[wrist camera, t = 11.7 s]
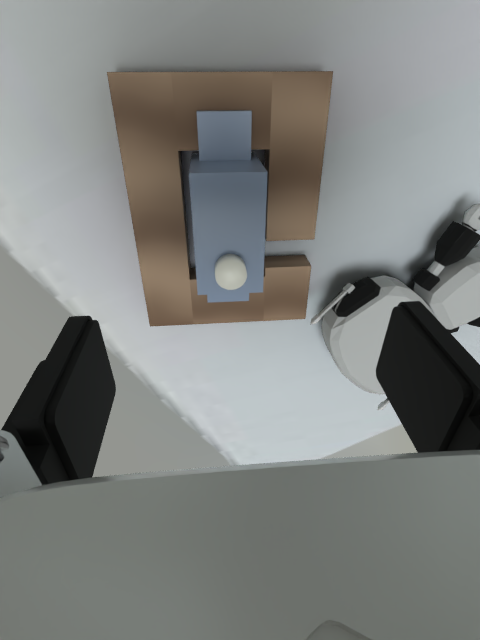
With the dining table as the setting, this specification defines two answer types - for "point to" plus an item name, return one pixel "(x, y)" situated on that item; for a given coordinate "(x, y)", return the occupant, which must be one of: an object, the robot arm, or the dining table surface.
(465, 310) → the robot toy
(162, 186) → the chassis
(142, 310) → the dining table surface
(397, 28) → the dining table surface
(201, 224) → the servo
